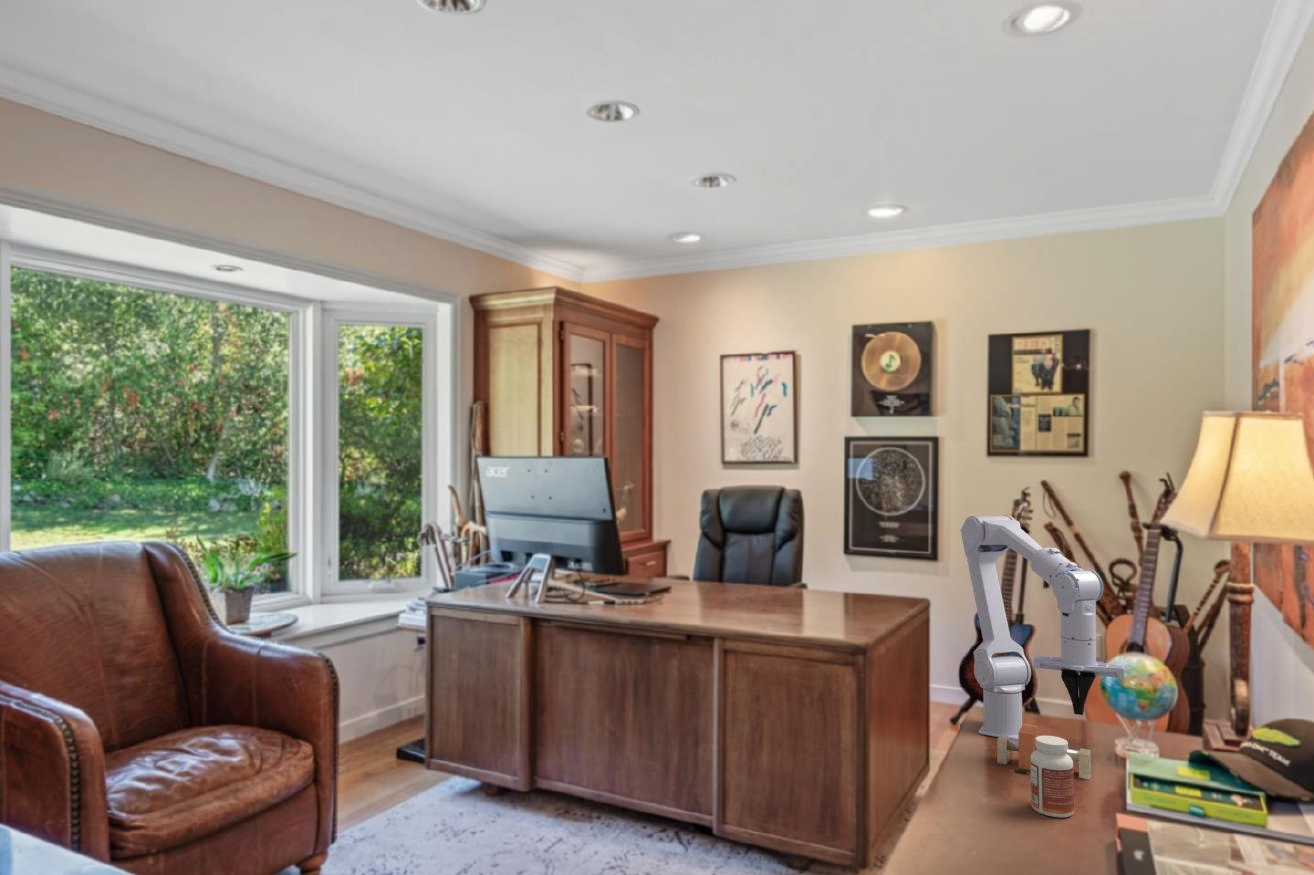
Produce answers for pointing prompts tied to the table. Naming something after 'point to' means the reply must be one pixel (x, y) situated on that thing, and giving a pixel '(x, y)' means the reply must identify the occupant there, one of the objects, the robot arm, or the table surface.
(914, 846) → the table surface
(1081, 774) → the pipe rail
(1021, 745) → the upright terracotta block
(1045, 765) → the pill bottle
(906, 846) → the table surface
